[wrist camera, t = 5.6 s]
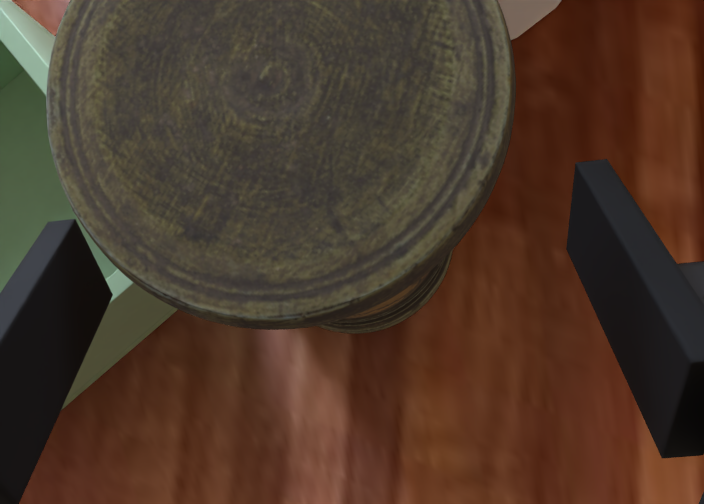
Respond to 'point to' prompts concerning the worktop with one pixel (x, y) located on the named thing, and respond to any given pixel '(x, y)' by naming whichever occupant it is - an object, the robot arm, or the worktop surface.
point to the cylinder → (525, 13)
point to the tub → (53, 194)
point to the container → (281, 149)
